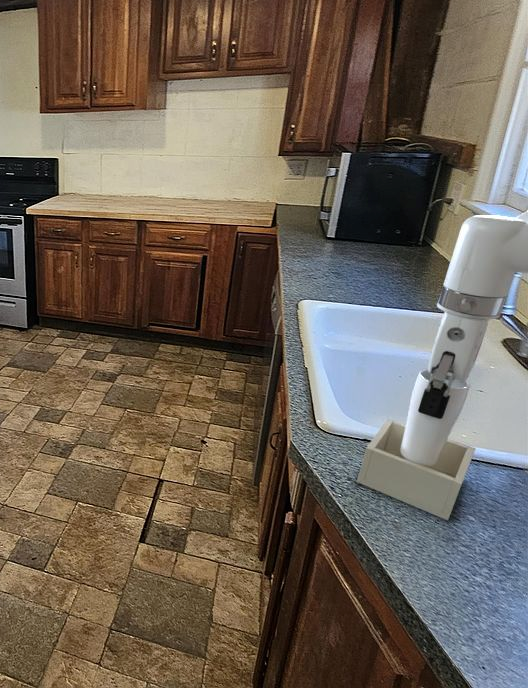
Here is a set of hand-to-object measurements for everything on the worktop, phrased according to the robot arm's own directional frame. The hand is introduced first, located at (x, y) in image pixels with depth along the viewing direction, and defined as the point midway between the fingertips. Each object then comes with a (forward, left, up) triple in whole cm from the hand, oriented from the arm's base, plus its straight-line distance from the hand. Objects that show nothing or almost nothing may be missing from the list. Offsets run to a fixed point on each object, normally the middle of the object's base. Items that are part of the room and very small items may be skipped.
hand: (435, 405), depth 84 cm
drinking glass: (0, 0, -10) cm, 10 cm away
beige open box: (0, 0, -15) cm, 15 cm away
